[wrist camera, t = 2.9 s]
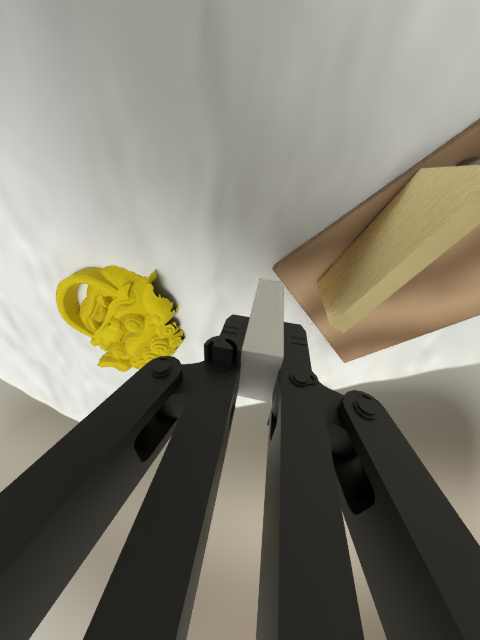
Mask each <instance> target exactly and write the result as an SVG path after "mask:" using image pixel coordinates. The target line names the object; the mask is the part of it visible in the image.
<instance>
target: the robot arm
mask: <svg viewBox="0 0 480 640" xmlns="http://www.w3.org/2000/svg"><path fill="white" fill-rule="evenodd" d="M237 396H242V397H247V398H251V399H256V400H261V401H266V402H271V401H272V409H271V413H270V416H269V419H268V423H267V425H269V436H268V453H267V468H266V484H265V501H264V518H263V534H262V550H261V566H260V582H259V599H258V614H257V631H256V640H364V636H363V630H362V625H361V619H360V613H359V607H358V602H357V596H356V590H355V584H354V578H353V573H352V567H351V561H350V555H349V550H348V544H347V538H346V533H345V527H344V521H343V516H342V512H343V515H344V518H345V521H346V523H347V526H348V529H349V532H350V535H351V538H352V541H353V543H354V546H355V549H356V552H357V555H358V558H359V560H360V563H361V566H362V569H363V572H364V574H365V578H366V581H367V583H368V586H369V589H370V592H371V595H372V598H373V601H374V603H375V606H376V609H377V612H378V615H379V618H380V621H381V623H382V626H383V629H384V632H385V635H386V638H387V640H480V546H479V544H478V543H477V541H476V540H475V539H474V537H473V536H472V534H471V533H470V531H469V530H468V528H467V527H466V526H465V524H464V523H463V521H462V520H461V518H460V517H459V515H458V514H457V513H456V511H455V510H454V508H453V507H452V505H451V504H450V502H449V501H448V500H447V498H446V497H445V495H444V494H443V492H442V491H441V490H440V488H439V486H438V485H437V483H436V482H435V481H434V479H433V478H432V476H431V475H430V473H429V472H428V470H427V469H426V467H425V466H424V465H423V463H422V462H421V460H420V459H419V457H418V456H417V454H416V453H415V452H414V450H413V449H412V447H411V446H410V444H409V443H408V441H407V440H406V439H405V437H404V436H403V434H402V433H401V431H400V430H399V428H398V427H397V426H396V424H395V423H394V421H393V420H392V418H391V417H390V415H389V414H388V412H387V411H386V409H385V408H384V407H383V406H382V405H381V403H380V402H379V401H378V400H376V399H375V398H374V397H372V396H371V395H369V394H366V393H364V392H362V391H356V390H353V391H349V392H347V393H346V394H345V395H342V394H340V393H338V392H335V391H333V390H331V389H329V388H327V387H325V386H324V385H322V384H321V383H320V382H319V381H318V378H317V376H316V375H315V374H314V373H313V372H312V369H311V363H310V356H309V349H308V343H307V336H306V331H305V330H304V329H303V327H302V326H301V325H299V324H293V323H286V322H284V282H279V281H272V280H265V279H259V283H258V287H257V291H256V295H255V299H254V303H253V307H252V311H251V315H250V317H245V316H239V315H231V316H230V317H229V318H228V319H226V322H225V324H224V327H223V329H222V332H221V334H220V336H216V337H212V338H210V339H209V340H207V341H206V343H205V344H204V361H202V362H199V363H194V364H182V365H181V363H180V361H179V360H178V359H176V358H175V357H172V356H160V357H157V358H154V359H152V360H151V361H149V362H148V363H147V364H145V365H144V366H143V367H142V368H141V369H140V370H139V371H138V372H136V373H135V374H134V375H133V376H132V377H131V378H130V379H128V380H127V381H126V382H125V383H124V384H123V385H122V386H121V387H119V388H118V389H117V390H116V391H115V392H114V393H113V394H112V395H110V396H109V397H108V398H107V399H106V400H105V401H104V402H102V403H101V404H100V405H99V406H98V407H97V408H96V409H95V410H93V411H92V412H91V413H90V414H89V415H88V416H87V417H86V418H84V419H83V420H82V421H81V422H80V423H79V424H78V425H77V426H75V427H74V428H73V429H72V430H71V431H70V432H69V433H68V434H66V435H65V436H64V437H63V438H62V439H61V440H60V441H58V442H57V443H56V444H55V445H54V446H53V447H52V448H51V449H49V450H48V451H47V452H46V453H45V454H44V455H43V456H42V457H40V458H39V459H38V460H37V461H36V462H35V463H34V464H32V465H31V466H30V467H29V468H28V469H27V470H26V471H25V472H23V473H22V474H21V475H20V476H19V477H18V478H17V479H16V480H14V481H13V482H12V483H11V484H10V485H9V486H8V487H6V488H5V489H4V490H3V491H2V492H1V493H0V640H29V638H30V637H31V636H32V634H33V633H34V631H35V630H36V628H37V627H38V626H39V624H40V623H41V621H42V620H43V618H44V617H45V616H46V614H47V613H48V611H49V610H50V608H51V607H52V606H53V604H54V603H55V601H56V600H57V598H58V597H59V596H60V594H61V593H62V591H63V590H64V588H65V587H66V586H67V584H68V583H69V581H70V580H71V579H72V577H73V576H74V574H75V573H76V571H77V570H78V569H79V567H80V566H81V564H82V563H83V561H84V560H85V559H86V557H87V556H88V554H89V553H90V551H91V550H92V549H93V547H94V546H95V544H96V543H97V541H98V540H99V539H100V537H101V536H102V534H103V533H104V531H105V530H106V529H107V527H108V526H109V524H110V523H111V521H112V520H113V519H114V517H115V515H116V514H117V513H118V511H119V510H120V509H121V507H122V506H123V504H124V503H125V501H126V500H127V498H128V497H129V496H130V494H131V493H132V491H133V490H134V489H135V487H136V486H137V484H138V483H139V481H140V480H141V478H142V477H143V476H144V474H145V473H146V471H147V470H148V469H149V467H150V466H151V464H152V463H153V461H154V460H155V459H156V457H157V456H158V454H159V453H160V451H161V450H162V449H163V447H164V446H165V444H166V443H167V441H168V440H169V439H170V437H171V436H172V437H171V439H170V442H169V444H168V446H167V448H166V451H165V453H164V455H163V457H162V460H161V462H160V464H159V467H158V469H157V471H156V474H155V476H154V478H153V481H152V483H151V485H150V487H149V489H148V492H147V494H146V497H145V499H144V501H143V503H142V505H141V508H140V510H139V512H138V515H137V517H136V519H135V521H134V524H133V526H132V529H131V531H130V533H129V535H128V537H127V540H126V542H125V545H124V547H123V549H122V551H121V554H120V556H119V558H118V560H117V563H116V565H115V568H114V570H113V572H112V574H111V576H110V579H109V581H108V583H107V586H106V588H105V590H104V592H103V595H102V597H101V599H100V602H99V604H98V606H97V608H96V611H95V613H94V616H93V618H92V620H91V622H90V625H89V627H88V629H87V631H86V634H85V636H84V638H83V640H186V638H187V634H188V628H189V624H190V619H191V615H192V609H193V605H194V600H195V596H196V591H197V586H198V581H199V576H200V572H201V567H202V562H203V558H204V553H205V548H206V543H207V539H208V534H209V529H210V524H211V520H212V515H213V510H214V506H215V501H216V496H217V491H218V487H219V481H220V477H221V472H222V467H223V462H224V458H225V453H226V449H227V444H228V439H229V434H230V429H231V425H232V420H233V415H234V410H235V404H236V398H237ZM341 509H342V510H341Z"/></svg>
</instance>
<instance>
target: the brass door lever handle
mask: <svg viewBox="0 0 480 640" xmlns="http://www.w3.org/2000/svg"><path fill="white" fill-rule="evenodd" d="M479 224H480V165H467V166H451V167H435V168H421V169H420V170H419V171H418V172H417V173H416V174H415V176H414V177H413V178H412V179H411V180H410V181H409V182H408V183H407V184H406V185H405V187H404V188H403V189H402V190H401V191H400V192H399V193H398V194H397V195H396V196H395V198H394V199H393V200H392V201H391V202H390V203H389V204H388V205H387V206H386V207H385V209H384V210H383V211H382V212H381V213H380V214H379V215H378V216H377V217H376V218H375V220H374V221H373V222H372V223H371V224H370V225H369V226H368V227H367V228H366V229H365V231H364V232H363V233H362V234H361V235H360V236H359V237H358V238H357V239H356V240H355V242H354V243H353V244H352V245H351V246H350V247H349V248H348V249H347V250H346V251H345V253H344V254H343V255H342V256H341V257H340V258H339V259H338V260H337V261H336V262H335V264H334V265H333V266H332V267H331V268H330V269H329V270H328V271H327V272H326V273H325V275H324V276H323V277H322V278H321V279H320V280H319V281H318V282H317V285H318V289H319V292H320V295H321V298H322V301H323V304H324V307H325V311H326V314H327V317H328V320H329V323H330V325H331V326H332V327H334V328H336V329H337V330H339V331H341V332H342V333H345V332H346V331H347V330H349V329H350V328H351V327H352V326H354V325H355V324H356V323H357V322H359V321H360V320H361V319H362V318H363V317H365V316H366V315H367V314H368V313H370V312H371V311H372V310H373V309H375V308H376V307H377V306H378V305H380V304H381V303H382V302H383V301H385V300H386V299H387V298H388V297H390V296H391V295H392V294H393V293H395V292H396V291H397V290H398V289H400V288H401V287H402V286H403V285H404V284H406V283H407V282H408V281H409V280H411V279H412V278H413V277H414V276H416V275H417V274H418V273H419V272H421V271H422V270H423V269H424V268H426V267H427V266H428V265H429V264H431V263H432V262H433V261H434V260H436V259H437V258H438V257H439V256H441V255H442V254H443V253H444V252H445V251H447V250H448V249H449V248H450V247H452V246H453V245H454V244H455V243H457V242H458V241H459V240H460V239H462V238H463V237H464V236H465V235H467V234H468V233H469V232H470V231H472V230H473V229H474V228H475V227H477V226H478V225H479Z"/></svg>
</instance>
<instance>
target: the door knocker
mask: <svg viewBox="0 0 480 640" xmlns="http://www.w3.org/2000/svg"><path fill="white" fill-rule="evenodd" d="M156 278H157V274H156V270H155V271H154V272H153V273H151V275H150V276H149V279H148V278H147V277H142V276H139V275H136V273H134V272H131V271H128V270H126V269H125V268H120V267H118V266H114V265H112V266H107V267H105V268H104V269H102V268H96V267H93V268H86V269H83V270H81V271H79V272H77V273H75V274H73V275H72V276H70V277H68V278H66V279H64V280H62V281H61V282H60V283H59V285H58V287H57V291H56V302H57V306H58V310H59V312H60V314H61V316H62V317H63V319H64V320H65V321H66V322H67V323H68V324H69V325H70V326H72V327H73V328H74V329H76V330H78V331H80V332H81V333H83V334H85V335H87V336H89V337H91V338H93V339H92V340H91V341H90V343H91V344H92V345H93V346H98V345H100V348H101V349H103V350H105V351H108V352H107V353H106V354H104V355H103V356H102V357H101V358H100V362H99V363H98V364H97V365H98V366H99V367H115V368H116V369H118V370H119V371H122V372H125V371H128V370H129V369H130V368H131V367H132V366H133V367H134V368H136V369H138V368H139V369H141V368H142V367H143V366H144V365H145V364H147V363H148V362H149V361H151V360H152V359H154V358H157V357H160V356H171V355H172V354H173V353H175V351H176V350H177V348H178V346H179V345H180V344H181V343H182V342H183V340H184V339H185V338H184V339H183V340H181V337H179V336H182V335H183V332H184V331H183V330H182V331H180V332H178V333H176V332H177V330H178V329H179V327H180V326H179V327H178V328H177V326H176V322H174V323H172V324H173V325H175V326H176V331H175V328H174V327H173V326H172V325H171V324H169V325H164V324H166V323H167V322H168V321H169V320H170V319H171V318H172V317H173V316H174V314H175V310H173V311H172V312H171V311H170V310H171V309H172V307H173V302H170V301H169V300H168V299H167V298H165V299H164V297H163V298H161V296H160V294H159V297H157V296H156V295H155V294H154V292H153V289H154V287H153V286H152V284H151V283H152V282H153V281H154V280H155V279H156ZM80 283H84V284H89V285H88V288H87V298H85V299H84V300H83V302H82V304H81V307H80V305H79V302H78V298H77V291H78V287H79V285H80ZM177 310H178V306H177V308H176V312H177ZM180 325H181V324H180ZM175 333H176V334H175ZM173 334H175V335H173ZM176 347H177V348H176Z"/></svg>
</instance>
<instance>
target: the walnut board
mask: <svg viewBox="0 0 480 640" xmlns="http://www.w3.org/2000/svg"><path fill="white" fill-rule="evenodd" d="M474 156H480V119H479V120H478V121H477V122H475V123H474V124H472V125H471V126H470V127H468V128H467V129H465V130H464V131H463V132H461V133H460V134H458V135H457V136H456V137H454V138H453V139H451V140H450V141H449V142H447V143H446V144H444V145H443V146H441V147H440V148H439V149H437V150H436V151H434V152H433V153H432V154H430V155H429V156H427V157H426V158H425V159H423V160H422V161H420V162H419V163H418V164H416V165H415V166H413V167H412V168H411V169H409V170H408V171H406V172H405V173H404V174H402V175H401V176H399V177H398V178H397V179H395V180H394V181H392V182H391V183H390V184H388V185H387V186H385V187H384V188H382V189H381V190H380V191H378V192H377V193H375V194H374V195H373V196H371V197H370V198H368V199H367V200H366V201H364V202H363V203H361V204H360V205H359V206H357V207H356V208H354V209H353V210H352V211H350V212H349V213H347V214H346V215H345V216H343V217H342V218H340V219H339V220H338V221H336V222H335V223H333V224H332V225H331V226H329V227H328V228H326V229H325V230H323V231H322V232H321V233H319V234H318V235H316V236H315V237H314V238H312V239H311V240H309V241H308V242H307V243H305V244H304V245H302V246H301V247H300V248H298V249H297V250H295V251H294V252H293V253H291V254H290V255H288V256H287V257H286V258H284V259H283V260H281V261H280V262H279V263H277V264H276V265H274V266H273V270H274V272H275V273H276V274H277V276H278V277H279V278H280V280H281V281H282V282H284V285H285V286H286V287H287V289H288V290H289V291H290V293H291V294H292V295H293V297H294V298H295V299H296V300H297V302H298V303H299V304H300V306H301V307H302V308H303V310H304V311H305V312H306V314H307V315H308V316H309V317H310V319H311V320H312V321H313V323H314V324H315V325H316V327H317V328H318V329H319V331H320V332H321V333H322V334H323V336H324V337H325V338H326V340H327V341H328V342H329V344H330V345H331V346H332V348H333V349H334V350H335V351H336V353H337V354H338V355H339V357H340V358H341V359H342V361H343V362H344V363H346V362H349V361H351V360H354V359H357V358H360V357H363V356H366V355H368V354H371V353H374V352H377V351H380V350H382V349H385V348H388V347H391V346H394V345H397V344H399V343H402V342H405V341H408V340H411V339H413V338H416V337H419V336H422V335H425V334H428V333H430V332H433V331H436V330H439V329H442V328H444V327H447V326H450V325H453V324H456V323H459V322H461V321H464V320H467V319H470V318H473V317H475V316H478V315H480V224H479V225H478V226H477V227H475V228H474V229H473V230H472V231H470V232H469V233H468V234H467V235H465V236H464V237H463V238H462V239H460V240H459V241H458V242H457V243H455V244H454V245H453V246H452V247H450V248H449V249H448V250H447V251H445V252H444V253H443V254H442V255H441V256H439V257H438V258H437V259H436V260H434V261H433V262H432V263H431V264H429V265H428V266H427V267H426V268H424V269H423V270H422V271H421V272H419V273H418V274H417V275H416V276H414V277H413V278H412V279H411V280H409V281H408V282H407V283H406V284H404V285H403V286H402V287H401V288H400V289H398V290H397V291H396V292H395V293H393V294H392V295H391V296H390V297H388V298H387V299H386V300H385V301H383V302H382V303H381V304H380V305H378V306H377V307H376V308H375V309H373V310H372V311H371V312H370V313H368V314H367V315H366V316H365V317H363V318H362V319H361V320H360V321H359V322H357V323H356V324H355V325H354V326H352V327H351V328H350V329H349V330H347V331H346V332H345V333H342V332H341V331H339V330H337V329H336V328H334V327H332V326H331V325H330V323H329V320H328V317H327V314H326V311H325V307H324V304H323V301H322V298H321V295H320V292H319V289H318V285H317V282H318V281H319V280H320V279H321V278H322V277H323V276H324V275H325V273H326V272H327V271H328V270H329V269H330V268H331V267H332V266H333V265H334V264H335V262H336V261H337V260H338V259H339V258H340V257H341V256H342V255H343V254H344V253H345V251H346V250H347V249H348V248H349V247H350V246H351V245H352V244H353V243H354V242H355V240H356V239H357V238H358V237H359V236H360V235H361V234H362V233H363V232H364V231H365V229H366V228H367V227H368V226H369V225H370V224H371V223H372V222H373V221H374V220H375V218H376V217H377V216H378V215H379V214H380V213H381V212H382V211H383V210H384V209H385V207H386V206H387V205H388V204H389V203H390V202H391V201H392V200H393V199H394V198H395V196H396V195H397V194H398V193H399V192H400V191H401V190H402V189H403V188H404V187H405V185H406V184H407V183H408V182H409V181H410V180H411V179H412V178H413V177H414V176H415V174H416V173H417V172H418V171H419V170H420V169H421V168H435V167H451V166H455V165H456V164H458V163H459V162H461V161H462V160H464V159H466V158H469V157H474Z"/></svg>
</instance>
